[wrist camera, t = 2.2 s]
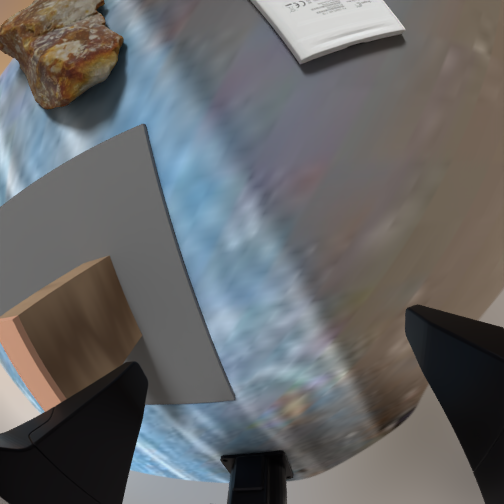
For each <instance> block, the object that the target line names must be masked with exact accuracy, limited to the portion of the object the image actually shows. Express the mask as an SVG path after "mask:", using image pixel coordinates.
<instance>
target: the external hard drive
mask: <svg viewBox="0 0 504 504" xmlns="http://www.w3.org/2000/svg"><path fill="white" fill-rule="evenodd" d="M250 1H251V2H252V3H253V4H254V5H255V6H256V8H257V9H258V10H259V11H260V12H261V14H262V15H263V16H264V17H265V18H266V20H267V21H268V22H269V23H270V25H271V26H272V27H273V28H274V30H275V31H276V32H277V33H278V35H279V36H280V37H281V39H282V40H283V41H284V43H285V44H286V45H287V47H288V48H289V49H290V51H291V52H292V54H293V55H294V57H295V58H296V59H297V61H298V62H299V64H303V63H305V62H308V61H310V60H313V59H316V58H318V57H321V56H324V55H327V54H330V53H333V52H336V51H339V50H342V49H345V48H347V47H348V46H351V45H354V44H358V43H361V42H369V41H373V40H377V39H381V38H385V37H390V36H394V35H399V34H402V33H403V32H404V31H405V28H404V27H403V25H402V24H401V23H400V21H399V20H398V19H397V17H396V16H395V15H394V14H393V12H392V11H391V10H390V8H389V7H388V6H387V5H386V3H385V2H384V1H383V0H250Z"/></svg>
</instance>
